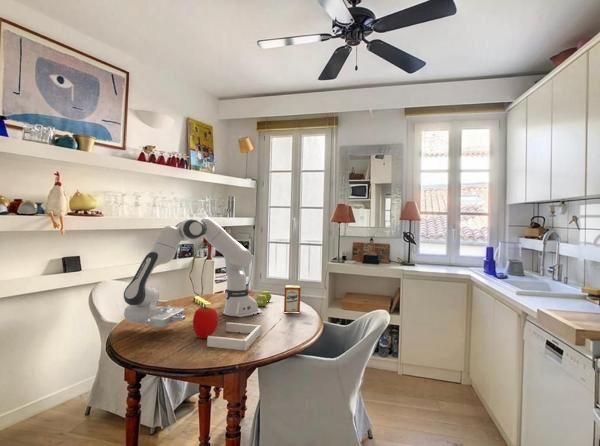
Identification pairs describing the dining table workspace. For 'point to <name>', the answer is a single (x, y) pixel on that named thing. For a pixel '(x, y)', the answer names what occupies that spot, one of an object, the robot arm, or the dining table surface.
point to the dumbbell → (263, 298)
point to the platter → (202, 302)
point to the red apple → (205, 322)
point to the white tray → (236, 343)
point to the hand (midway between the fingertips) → (183, 318)
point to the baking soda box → (292, 298)
